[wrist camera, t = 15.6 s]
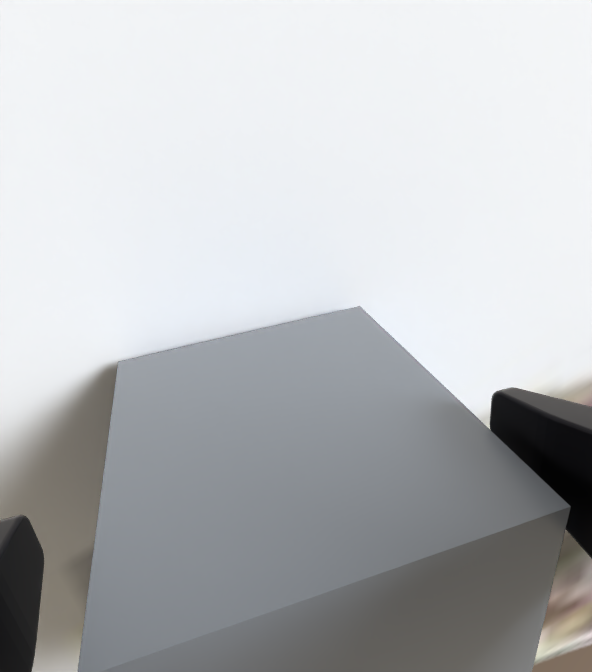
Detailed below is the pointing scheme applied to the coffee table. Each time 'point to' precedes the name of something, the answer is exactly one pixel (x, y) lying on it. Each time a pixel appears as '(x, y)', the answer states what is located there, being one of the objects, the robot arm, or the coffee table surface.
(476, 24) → the coffee table surface
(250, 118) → the coffee table surface
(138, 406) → the slate cube crate
